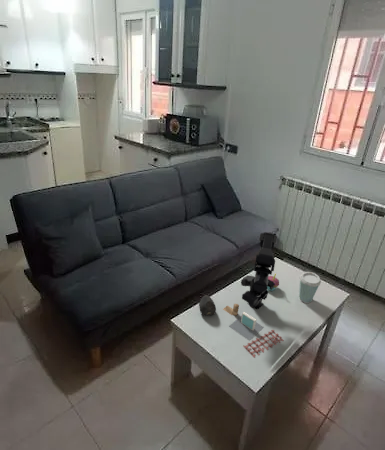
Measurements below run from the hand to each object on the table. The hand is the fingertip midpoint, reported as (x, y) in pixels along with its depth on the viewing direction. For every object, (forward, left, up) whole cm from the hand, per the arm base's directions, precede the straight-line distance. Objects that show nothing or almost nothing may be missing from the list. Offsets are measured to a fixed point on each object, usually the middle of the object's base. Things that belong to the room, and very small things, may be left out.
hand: (256, 304), depth 146 cm
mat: (+5, 0, -11) cm, 12 cm away
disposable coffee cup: (-36, +10, -11) cm, 39 cm away
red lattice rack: (+8, +11, -12) cm, 18 cm away
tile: (+4, 0, -10) cm, 11 cm away
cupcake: (-30, -8, -11) cm, 33 cm away
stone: (+12, -20, -11) cm, 26 cm away
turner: (+3, -12, -11) cm, 16 cm away
